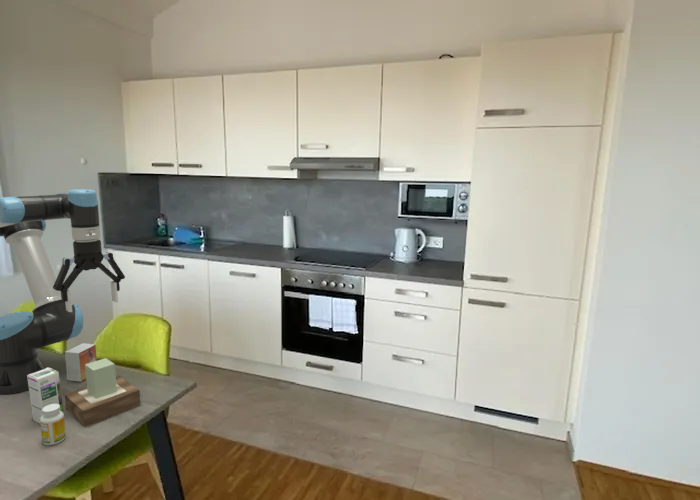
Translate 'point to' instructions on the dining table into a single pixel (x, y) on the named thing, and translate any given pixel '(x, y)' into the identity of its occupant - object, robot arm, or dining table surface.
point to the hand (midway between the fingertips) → (92, 306)
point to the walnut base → (101, 403)
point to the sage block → (100, 378)
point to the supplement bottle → (52, 425)
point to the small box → (79, 361)
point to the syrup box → (44, 391)
